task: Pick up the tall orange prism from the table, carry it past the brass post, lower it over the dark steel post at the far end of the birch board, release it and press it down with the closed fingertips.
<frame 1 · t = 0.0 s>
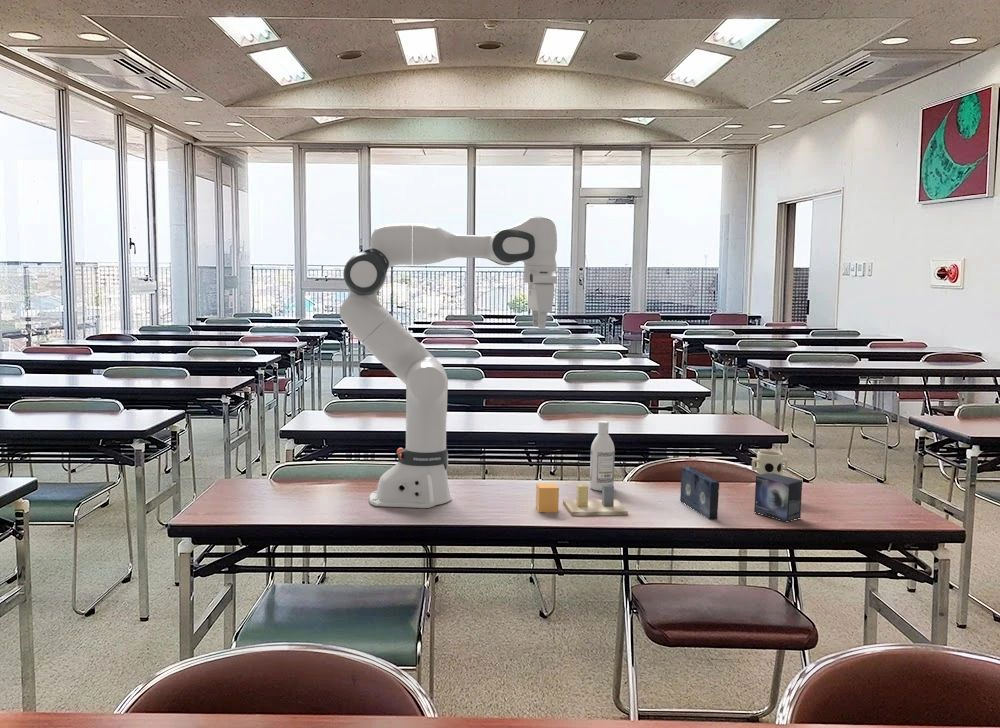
hand: (539, 327, 233), 48 cm above the table, tool pointing down, fingers open, 8 cm apart
bath foam: (601, 489, 251), on the table
tall orange prism: (546, 509, 227), on the table
brass post: (581, 509, 228), resting on birch board
steel post: (607, 508, 228), resting on birch board
small box: (776, 517, 224), on the table
birch board: (594, 509, 228), on the table
character mug: (768, 498, 244), on the table
vhs cassette tape: (698, 511, 229), on the table
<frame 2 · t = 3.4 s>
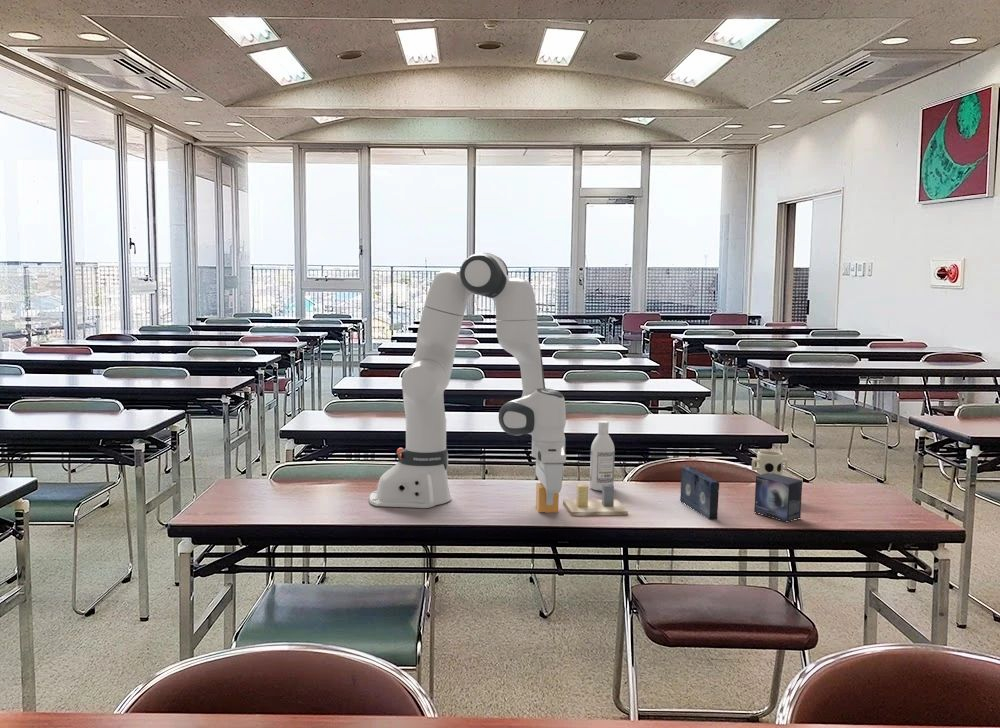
hand: (547, 501, 226), 2 cm above the table, tool pointing down, fingers closed on tall orange prism, 5 cm apart
tall orange prism: (546, 509, 227), on the table, touching gripper
everything else where it was.
when the fingers open (4 cm above the table, at t = 9.6 s): tall orange prism stays where it is, resting on birch board.
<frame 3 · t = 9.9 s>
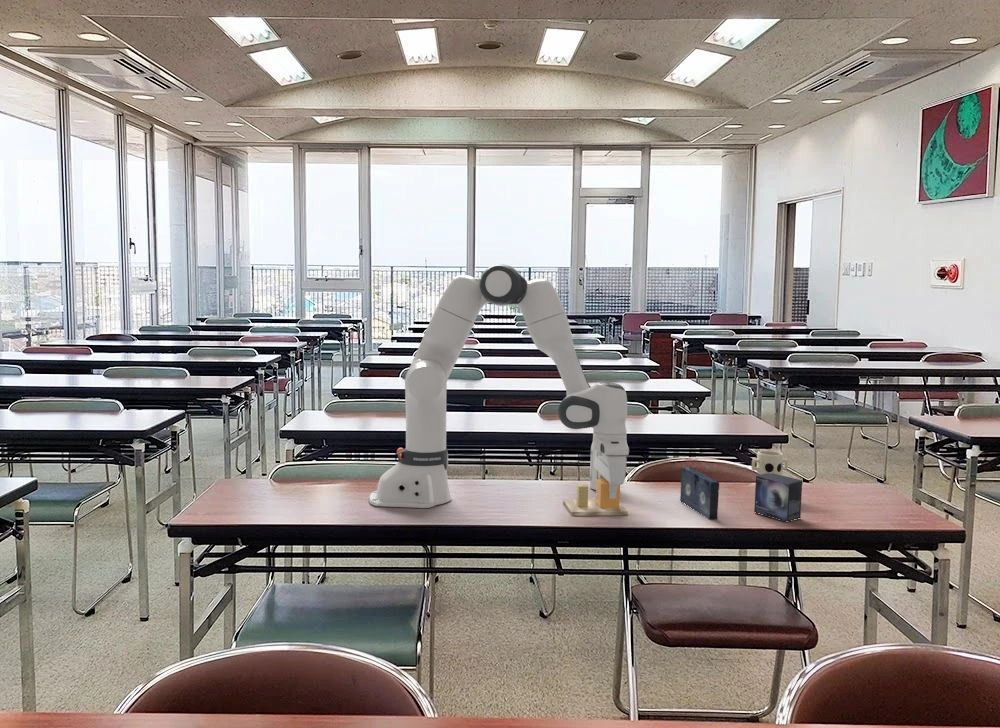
hand: (607, 493, 228), 4 cm above the table, tool pointing down, fingers open, 8 cm apart
tall orange prism: (607, 505, 228), point 1 cm above the table, touching birch board
everything else where it was.
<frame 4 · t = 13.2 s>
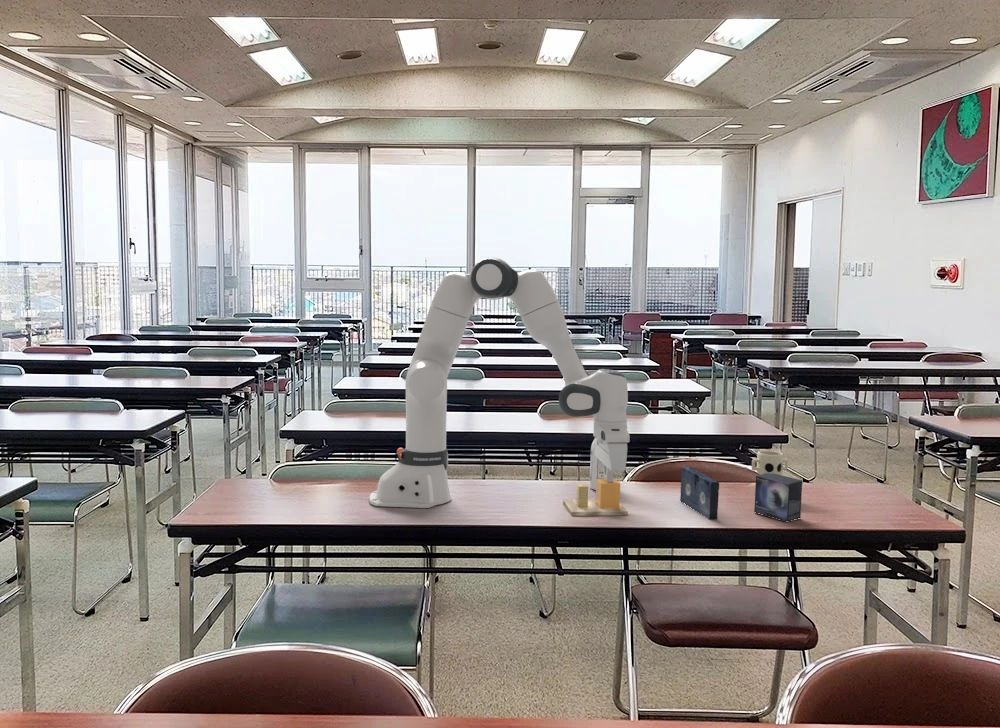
hand: (608, 481, 228), 8 cm above the table, tool pointing down, fingers closed, pressing on tall orange prism
tall orange prism: (607, 505, 228), point 1 cm above the table, touching birch board, gripper
everything else where it was.
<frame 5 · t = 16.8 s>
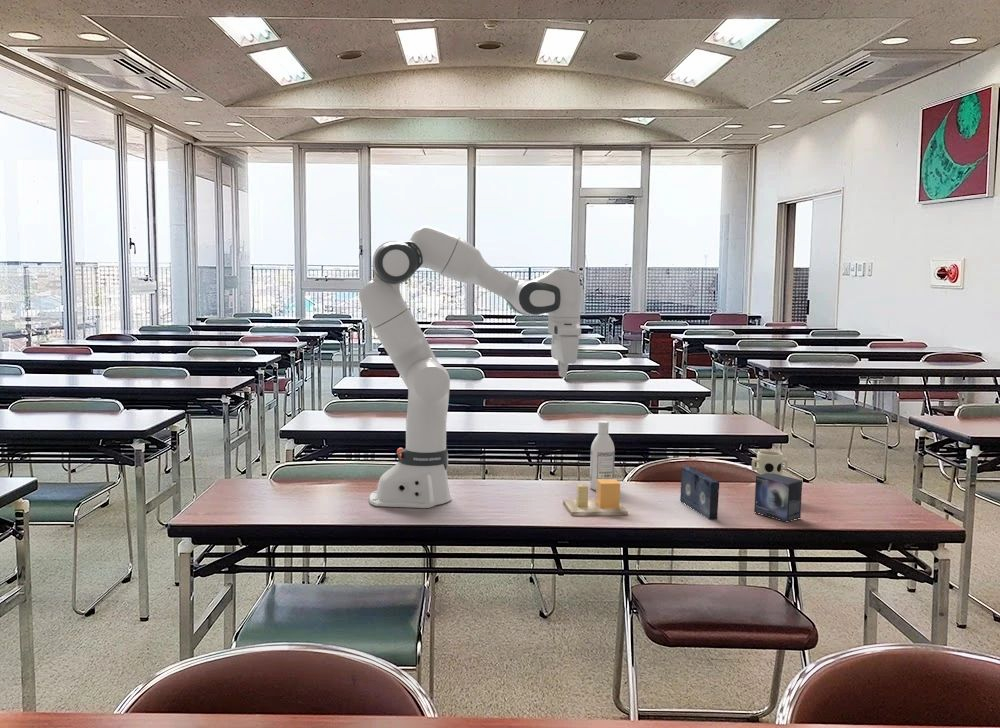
hand: (562, 376, 238), 34 cm above the table, tool pointing down, fingers closed
tall orange prism: (607, 505, 228), point 1 cm above the table, touching birch board
everything else where it was.
at the end: tall orange prism 0.0 cm from the steel post (horizontally); tall orange prism point 1.0 cm above the table; tall orange prism tilted 0° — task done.
